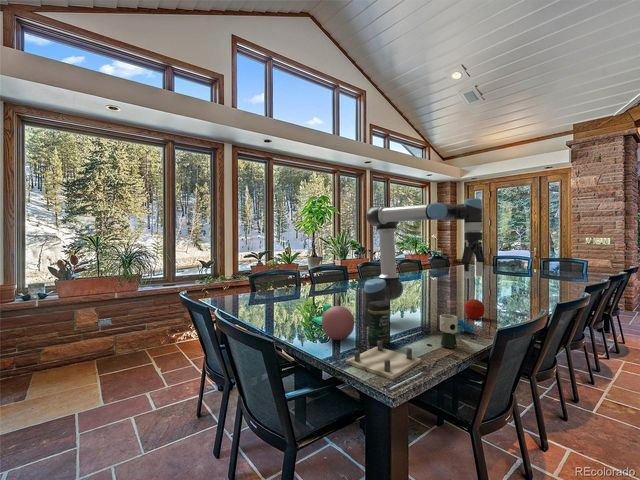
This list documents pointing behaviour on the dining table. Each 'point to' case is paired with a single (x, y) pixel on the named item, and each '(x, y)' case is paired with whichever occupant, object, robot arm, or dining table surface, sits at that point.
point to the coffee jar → (378, 322)
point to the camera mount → (318, 319)
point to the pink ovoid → (337, 322)
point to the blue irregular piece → (464, 326)
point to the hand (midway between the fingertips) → (473, 277)
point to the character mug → (448, 330)
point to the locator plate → (378, 362)
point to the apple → (474, 309)
